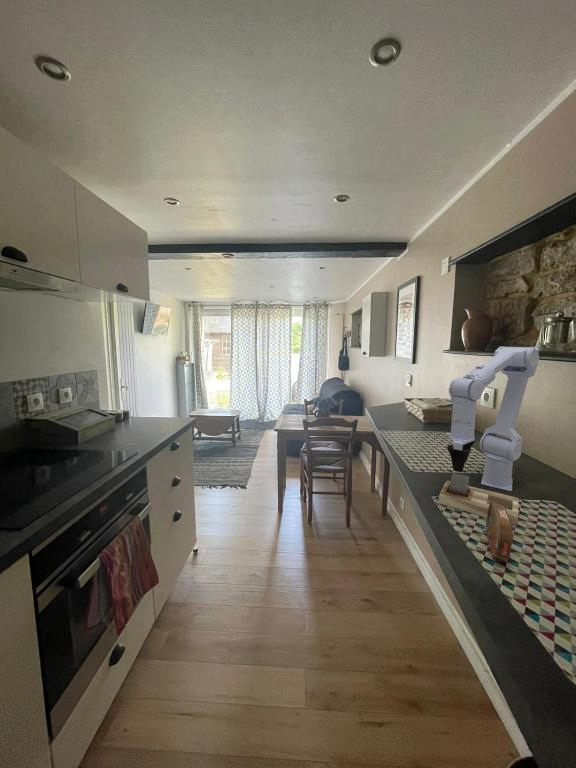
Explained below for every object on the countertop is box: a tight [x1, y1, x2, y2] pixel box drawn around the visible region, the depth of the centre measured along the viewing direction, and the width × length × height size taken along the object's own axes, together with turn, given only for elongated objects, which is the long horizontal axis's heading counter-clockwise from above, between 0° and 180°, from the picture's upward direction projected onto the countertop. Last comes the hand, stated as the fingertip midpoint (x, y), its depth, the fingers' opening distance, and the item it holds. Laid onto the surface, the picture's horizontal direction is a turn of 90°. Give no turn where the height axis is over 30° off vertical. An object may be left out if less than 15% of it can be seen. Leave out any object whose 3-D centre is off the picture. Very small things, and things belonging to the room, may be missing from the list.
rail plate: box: [438, 480, 519, 527], centre depth 85 cm, size 11×18×3 cm, turn 52°
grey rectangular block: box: [450, 472, 470, 497], centre depth 88 cm, size 4×4×7 cm
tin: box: [486, 502, 514, 561], centre depth 68 cm, size 15×3×8 cm, turn 153°
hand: (460, 466), depth 87 cm, fingers open, 7 cm apart
